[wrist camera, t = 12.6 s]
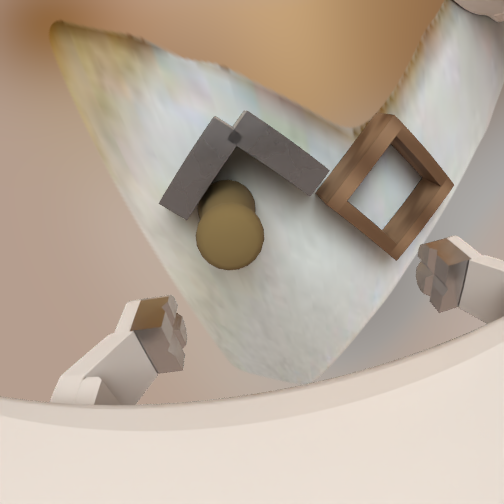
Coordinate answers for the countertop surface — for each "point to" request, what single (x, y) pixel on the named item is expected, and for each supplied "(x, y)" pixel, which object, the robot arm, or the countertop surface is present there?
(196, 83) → the countertop surface
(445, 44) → the countertop surface
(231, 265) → the cork
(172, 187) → the v block
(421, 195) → the sleeve
